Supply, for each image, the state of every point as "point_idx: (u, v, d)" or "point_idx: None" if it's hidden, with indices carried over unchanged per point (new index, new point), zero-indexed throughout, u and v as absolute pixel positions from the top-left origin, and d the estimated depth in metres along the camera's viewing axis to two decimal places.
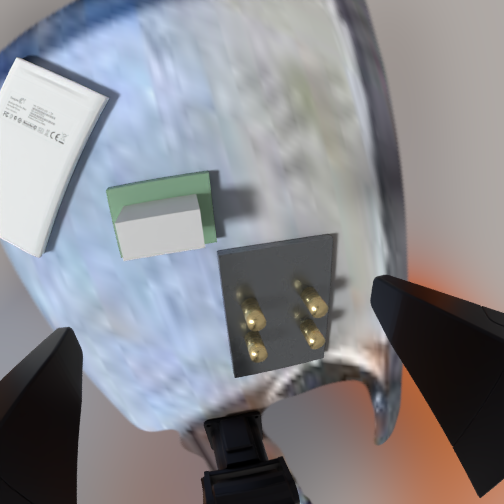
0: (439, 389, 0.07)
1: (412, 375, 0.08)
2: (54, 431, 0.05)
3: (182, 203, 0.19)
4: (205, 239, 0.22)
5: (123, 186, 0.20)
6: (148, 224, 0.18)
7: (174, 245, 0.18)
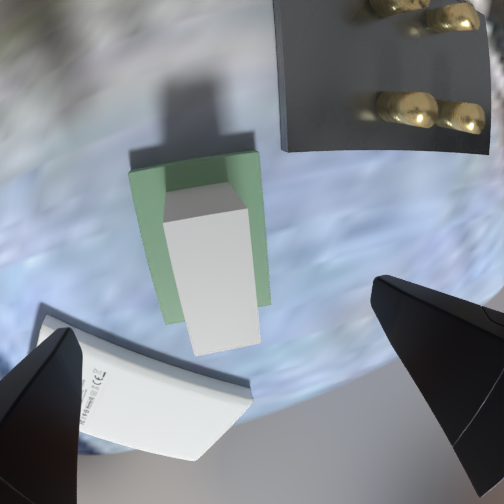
0: (439, 389, 0.07)
1: (412, 375, 0.08)
2: (54, 431, 0.05)
3: None
4: (252, 172, 0.12)
5: None
6: (195, 311, 0.10)
7: (237, 266, 0.10)
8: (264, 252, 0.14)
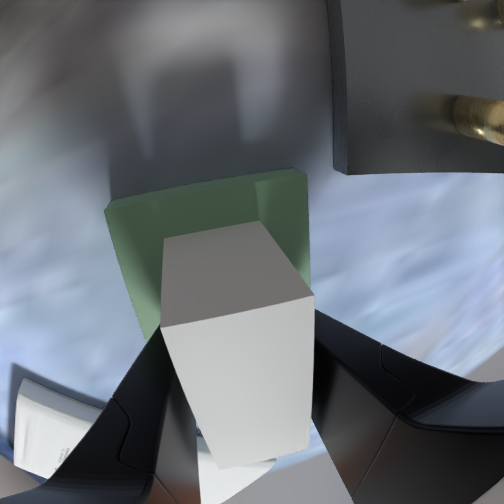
0: (330, 434, 0.06)
1: None
2: (187, 424, 0.06)
3: None
4: (296, 205, 0.08)
5: None
6: (221, 431, 0.06)
7: (289, 377, 0.06)
8: None
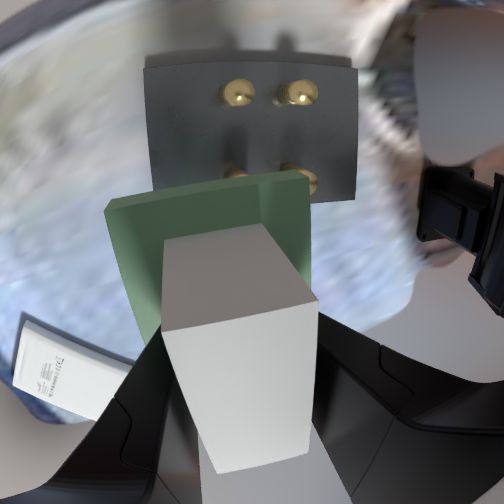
0: (329, 434, 0.06)
1: None
2: (188, 424, 0.06)
3: None
4: (298, 208, 0.08)
5: None
6: (220, 436, 0.06)
7: (291, 383, 0.06)
8: None
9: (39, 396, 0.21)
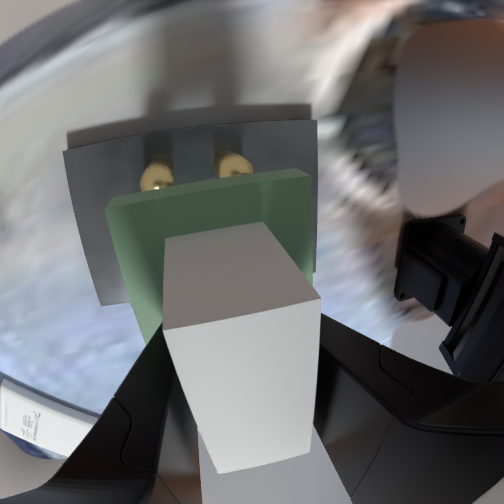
0: (329, 434, 0.06)
1: None
2: (188, 424, 0.06)
3: None
4: (299, 206, 0.08)
5: None
6: (222, 436, 0.06)
7: (293, 381, 0.05)
8: None
9: (24, 439, 0.20)
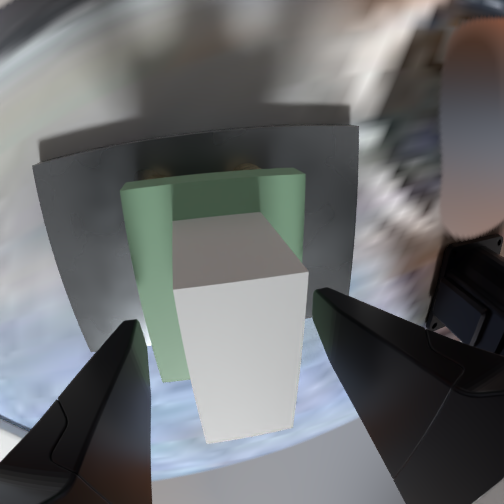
0: (376, 417, 0.06)
1: (351, 398, 0.07)
2: (134, 430, 0.06)
3: None
4: (293, 201, 0.09)
5: None
6: (214, 401, 0.07)
7: (281, 349, 0.06)
8: None
9: None
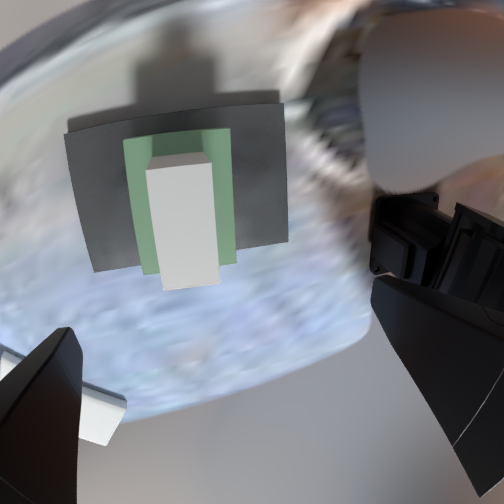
0: (439, 389, 0.07)
1: (412, 375, 0.08)
2: (54, 431, 0.05)
3: None
4: (223, 144, 0.14)
5: None
6: (166, 247, 0.12)
7: (202, 210, 0.12)
8: (231, 214, 0.16)
9: None
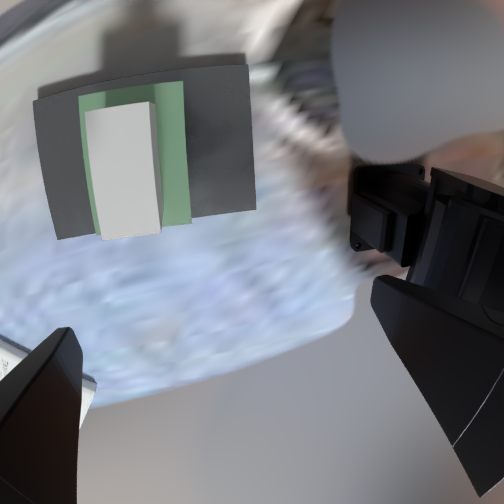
0: (439, 389, 0.07)
1: (412, 375, 0.08)
2: (54, 431, 0.05)
3: None
4: (176, 97, 0.13)
5: None
6: (103, 191, 0.11)
7: (139, 151, 0.11)
8: (184, 169, 0.15)
9: None
